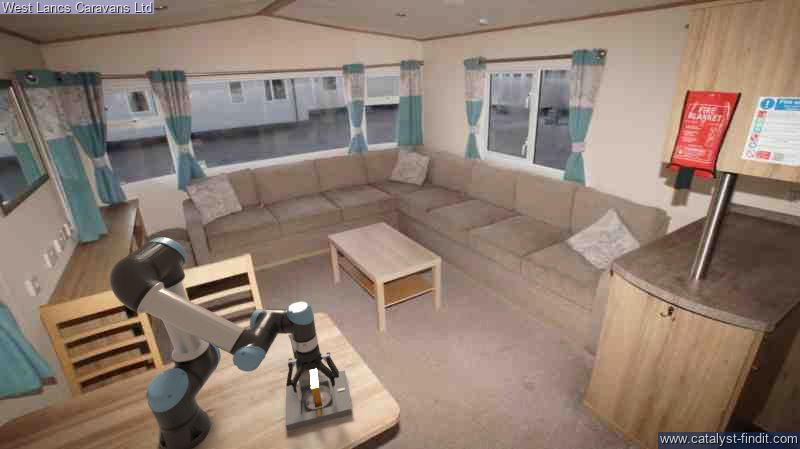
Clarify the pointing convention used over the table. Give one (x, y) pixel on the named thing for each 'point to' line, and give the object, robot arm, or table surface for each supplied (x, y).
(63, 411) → the table surface
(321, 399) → the dial
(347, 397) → the panel
